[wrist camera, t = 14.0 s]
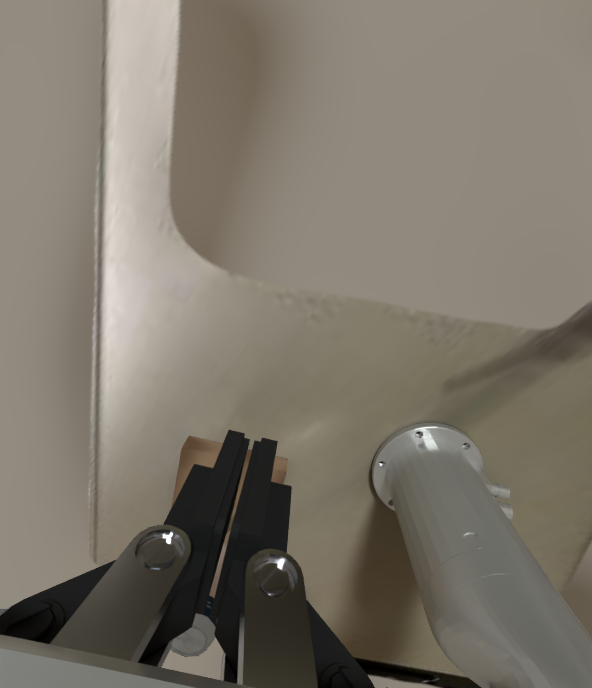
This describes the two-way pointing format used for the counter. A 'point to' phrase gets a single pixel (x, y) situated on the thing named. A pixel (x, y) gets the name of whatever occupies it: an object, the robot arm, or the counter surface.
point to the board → (206, 456)
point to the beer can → (200, 624)
